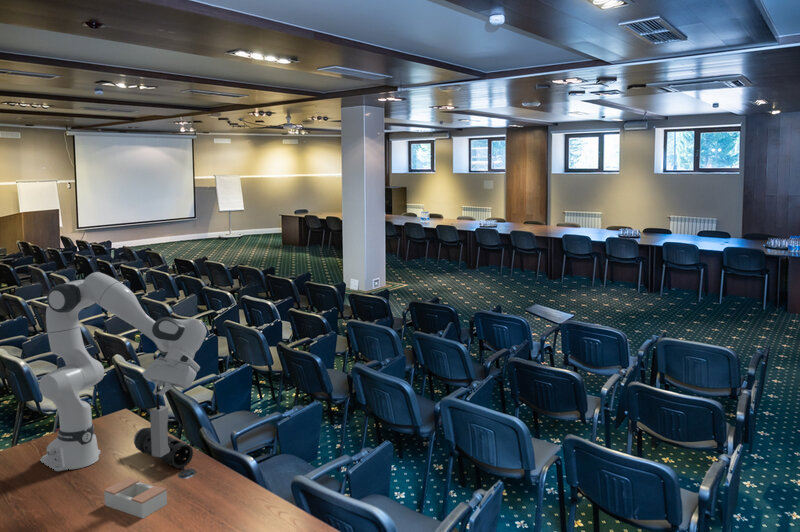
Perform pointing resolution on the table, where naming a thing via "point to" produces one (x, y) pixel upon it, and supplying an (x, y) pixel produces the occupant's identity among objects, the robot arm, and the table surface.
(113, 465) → the table surface
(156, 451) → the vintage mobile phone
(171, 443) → the muzzle brake
